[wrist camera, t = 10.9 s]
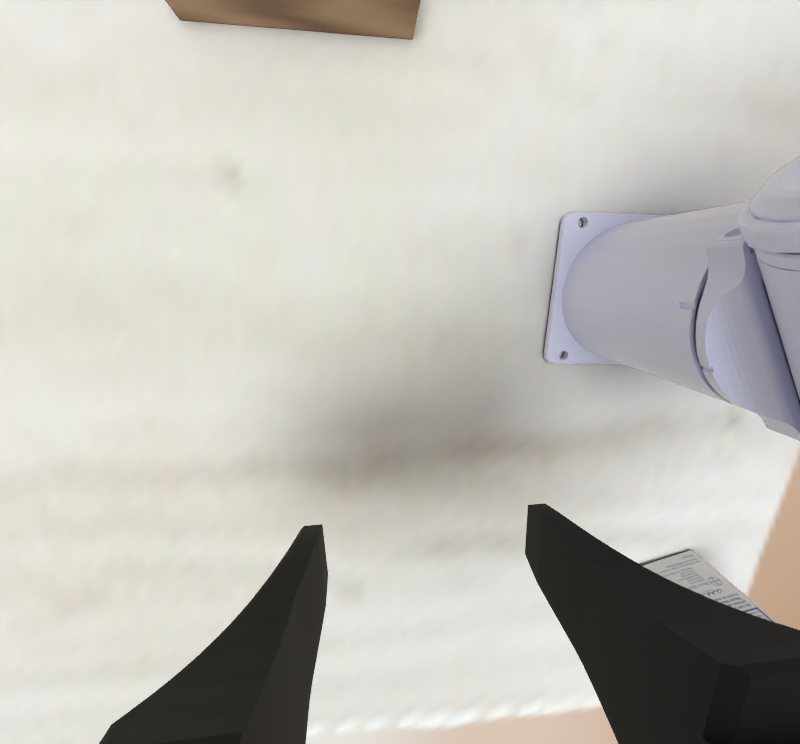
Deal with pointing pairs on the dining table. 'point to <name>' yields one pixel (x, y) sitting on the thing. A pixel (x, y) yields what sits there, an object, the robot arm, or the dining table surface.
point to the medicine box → (705, 581)
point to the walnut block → (308, 15)
